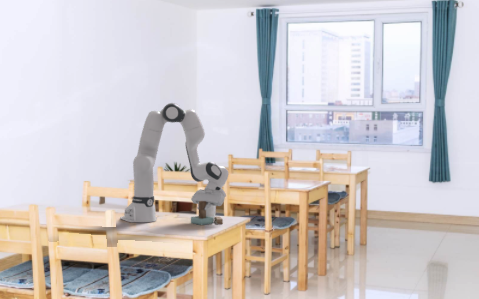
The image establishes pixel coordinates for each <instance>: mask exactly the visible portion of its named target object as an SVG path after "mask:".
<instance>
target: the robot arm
mask: <svg viewBox="0 0 479 299" xmlns="http://www.w3.org/2000/svg"><path fill="white" fill-rule="evenodd" d="M162 108H163V109H161V110H160V111H159V110H151V111H149V112H148V114H147V116H146V119H145V121H144V124H143V127H142V131H141V135H140V138H139V143H138V144H139V145H138V149H137V154H136V156H135V157H134V159H133V161H132V164H133V166H132V168H133V184H134V185H133V187H134V188H133V196H131V203H130V204H129V205H128V206H126V208H124V214H123V215H122V216H120V218H119V219H120V220H123V221H126V222H128V223H151V222H156V221H157V220H158V217H157V215H156V214H157V213H156V205H155V204H154V203H155V194H154V193H155V192H154V190H155V189H154V188H155V187H154V185H155V183H154V166H155V165H156V164H155V163H156V159H157V155H158V152H159V145H160V142H161V138H162V134H163V131H164V127H165V125H166V124H167V123H171V124H172V123H180V125H181V127H182V129H183V132H184V135H185V149H186V154H187V158H188V162H189V163H188V164H189V166H190V167H189V170H190V175H191V178H192V179H193V180H194V181H195V182H196V183H197V182H198V183H199V182H204V181H206V180H207V184H206V185H205V187H204V189H198V190H197V191H195V192H194V194H193V195H192V196H191V197H190V200H191V202H192V204H197V207H196V209H197V210H198V211H199V201H206V205H207V206H204V208H203V209H204V210H205V211H207V209H208V208H209V207H211V205H213V206H216V207H221V206H223V203H224V202H225V200H226V199H225V198H226V197H227V193H226V191H224V189H223V187H224V186H225V184H226V183H227V181H228V178H229V170H228V169H227V168H226V167H224V166H222V165H218V164H216V162H214V161H207V162H204V163H201V161H200V158H199V155H198V154H199V153H198V147H199V145H200V144H201V143H202V142H203V140H204V138H205V134H206V133H205V129H204V127H203V124H202V122H201V119H200V116H199V115H198V113H197V112H196V110H194V109H186V110H184V109H182V107H181V106H180V105H178V104H177V103H175V102H170V103H168V104H166V105H165V106H164V107H162Z"/></svg>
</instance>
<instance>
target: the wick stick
mask: <svg viewBox="0 0 479 299" xmlns="http://www.w3.org/2000/svg"><path fill="white" fill-rule="evenodd" d="M204 206H206V201H199V210H198V216H199V218H201V219H203V218H206V211H205V210H204V209H203V208H204Z"/></svg>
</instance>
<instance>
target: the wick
mask: <svg viewBox="0 0 479 299" xmlns="http://www.w3.org/2000/svg"><path fill="white" fill-rule="evenodd" d="M223 221H224V220H223V218H222V217H221V216H215V218H214V220H213V222H214V223H216V225H223V223H224V222H223Z"/></svg>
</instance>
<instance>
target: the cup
mask: <svg viewBox="0 0 479 299" xmlns="http://www.w3.org/2000/svg"><path fill="white" fill-rule="evenodd" d="M190 223H191V224H193V225H199V226H205V225H212V223H213V224H214V220H213V217H209V216H206V218H203V219H201V218H199V215H196V216H195V215H194V216H191V217H190Z"/></svg>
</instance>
